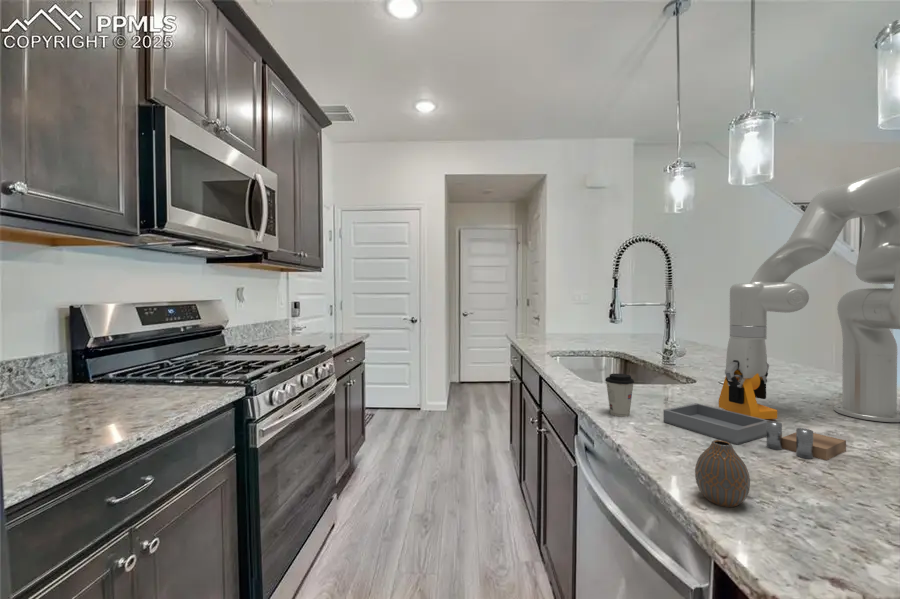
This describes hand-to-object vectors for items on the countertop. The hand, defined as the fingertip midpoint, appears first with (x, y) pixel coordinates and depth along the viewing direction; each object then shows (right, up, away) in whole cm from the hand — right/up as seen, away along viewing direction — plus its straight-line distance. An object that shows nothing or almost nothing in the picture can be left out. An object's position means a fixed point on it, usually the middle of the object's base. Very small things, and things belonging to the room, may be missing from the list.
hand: (747, 400), depth 103 cm
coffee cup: (-31, -4, +2) cm, 32 cm away
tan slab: (-3, -5, -22) cm, 23 cm away
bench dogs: (-9, -4, -23) cm, 25 cm away
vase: (-34, -5, -41) cm, 54 cm away
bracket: (0, -4, 0) cm, 4 cm away
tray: (-14, -4, -9) cm, 18 cm away
